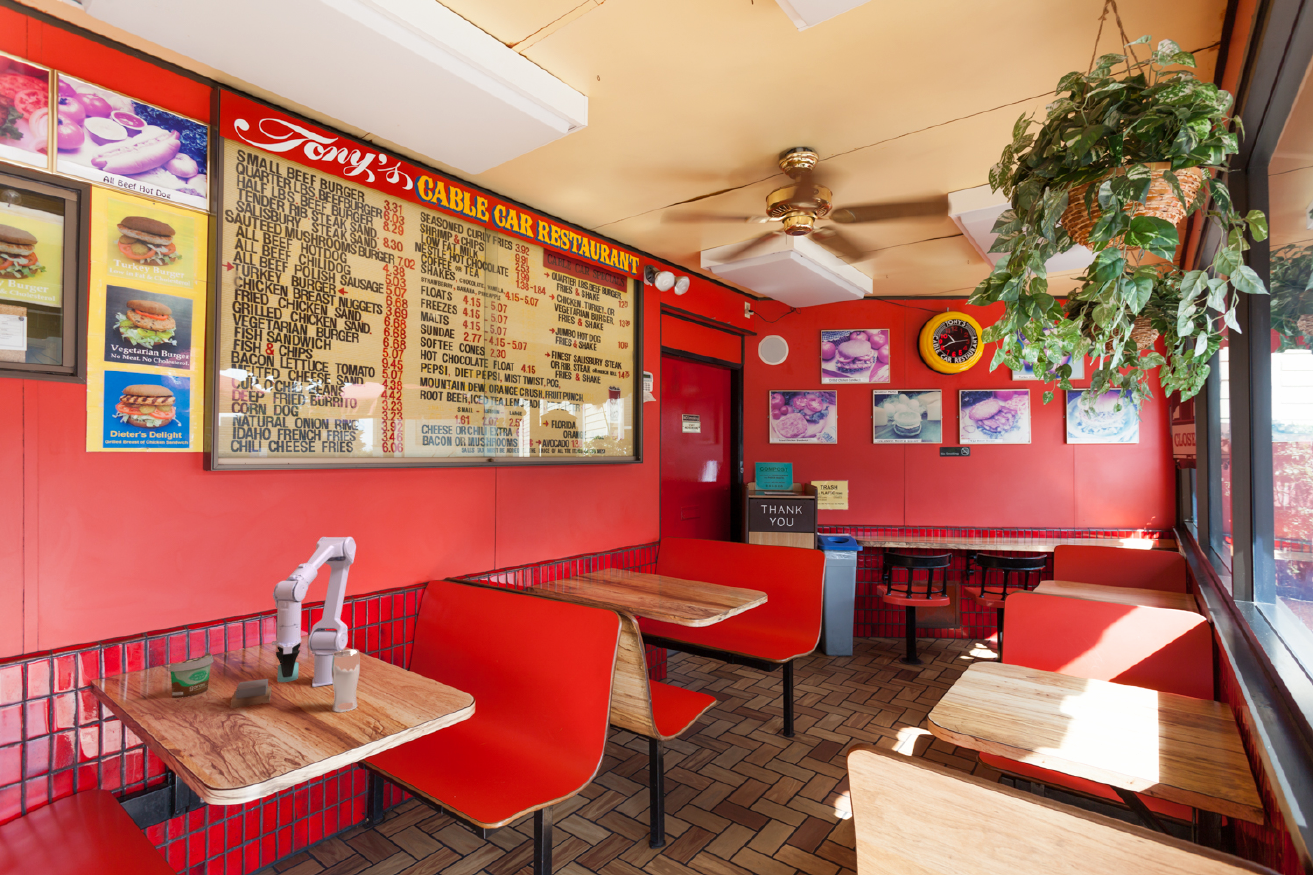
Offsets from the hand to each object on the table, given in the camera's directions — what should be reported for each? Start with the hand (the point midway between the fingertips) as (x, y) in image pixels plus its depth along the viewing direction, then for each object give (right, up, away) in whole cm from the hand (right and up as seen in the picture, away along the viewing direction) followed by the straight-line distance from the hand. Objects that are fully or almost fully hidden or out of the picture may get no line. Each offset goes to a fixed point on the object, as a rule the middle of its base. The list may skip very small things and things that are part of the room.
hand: (288, 673), depth 175 cm
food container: (-33, -10, +10) cm, 36 cm away
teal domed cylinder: (0, -1, 0) cm, 2 cm away
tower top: (-13, -7, +4) cm, 15 cm away
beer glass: (+17, -9, -3) cm, 19 cm away
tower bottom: (-13, -10, +4) cm, 16 cm away
